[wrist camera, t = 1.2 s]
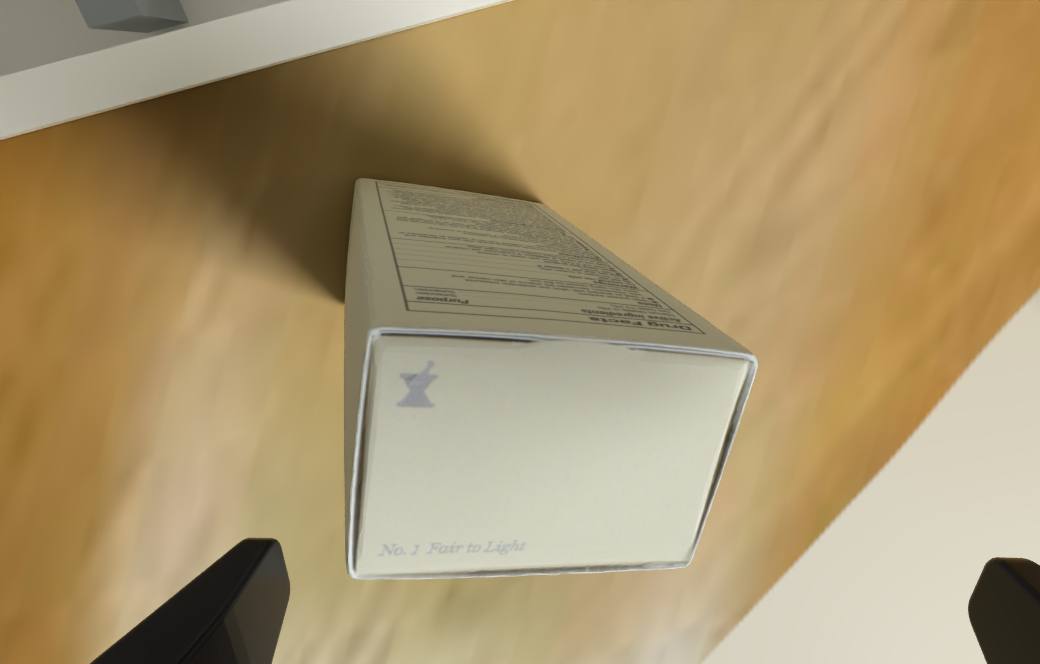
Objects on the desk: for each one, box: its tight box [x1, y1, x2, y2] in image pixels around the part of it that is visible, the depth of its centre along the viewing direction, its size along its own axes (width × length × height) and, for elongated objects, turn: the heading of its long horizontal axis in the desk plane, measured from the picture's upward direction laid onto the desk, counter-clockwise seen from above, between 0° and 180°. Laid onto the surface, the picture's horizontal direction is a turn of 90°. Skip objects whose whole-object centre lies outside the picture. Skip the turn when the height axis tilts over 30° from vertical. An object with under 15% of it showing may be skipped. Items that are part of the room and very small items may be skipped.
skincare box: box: [344, 178, 758, 579], centre depth 16 cm, size 6×4×12 cm
